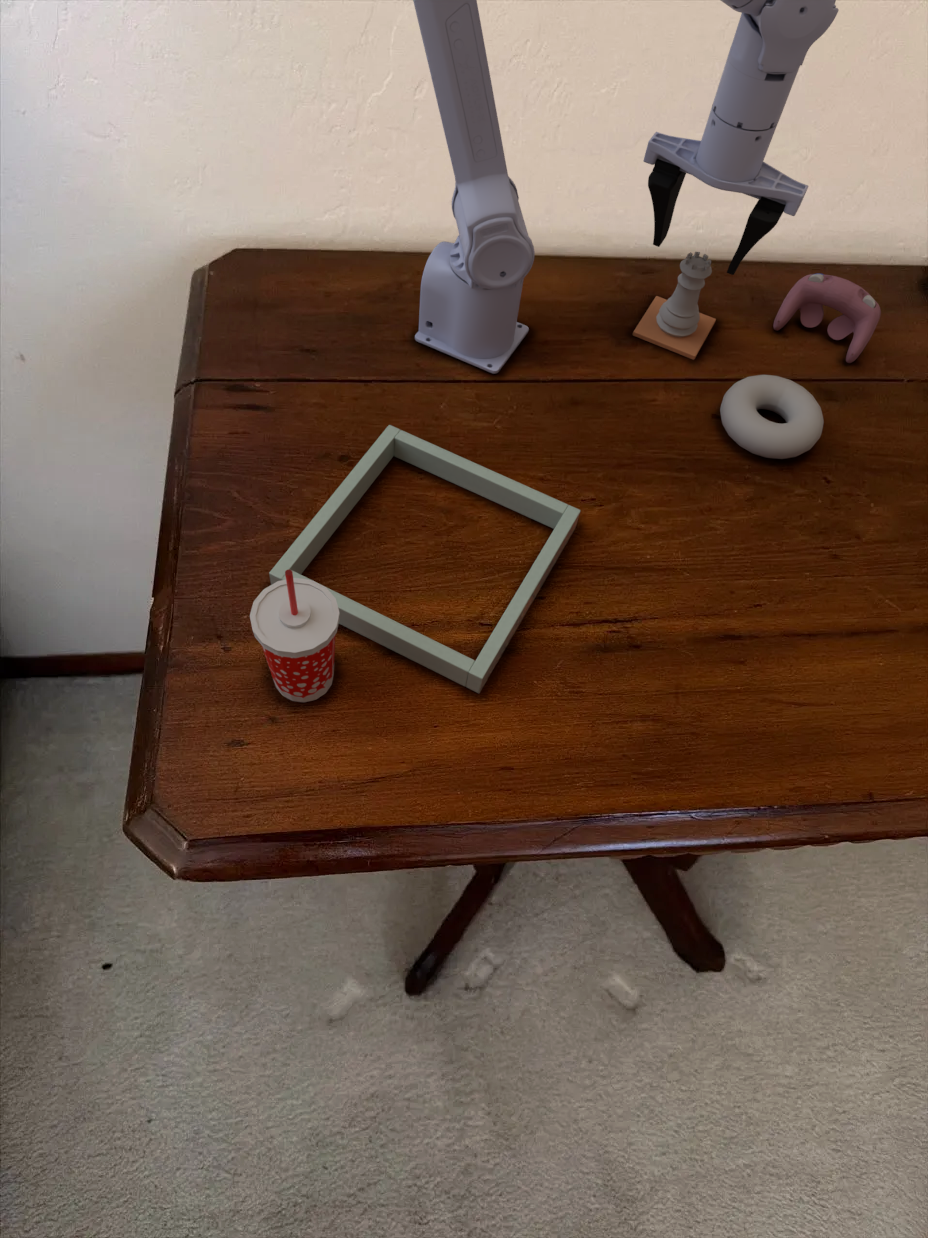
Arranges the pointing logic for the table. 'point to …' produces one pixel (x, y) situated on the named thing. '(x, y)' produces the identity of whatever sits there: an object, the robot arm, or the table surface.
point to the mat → (679, 345)
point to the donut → (764, 433)
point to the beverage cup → (297, 635)
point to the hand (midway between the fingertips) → (695, 254)
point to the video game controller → (840, 296)
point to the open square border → (464, 476)
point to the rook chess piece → (685, 297)
